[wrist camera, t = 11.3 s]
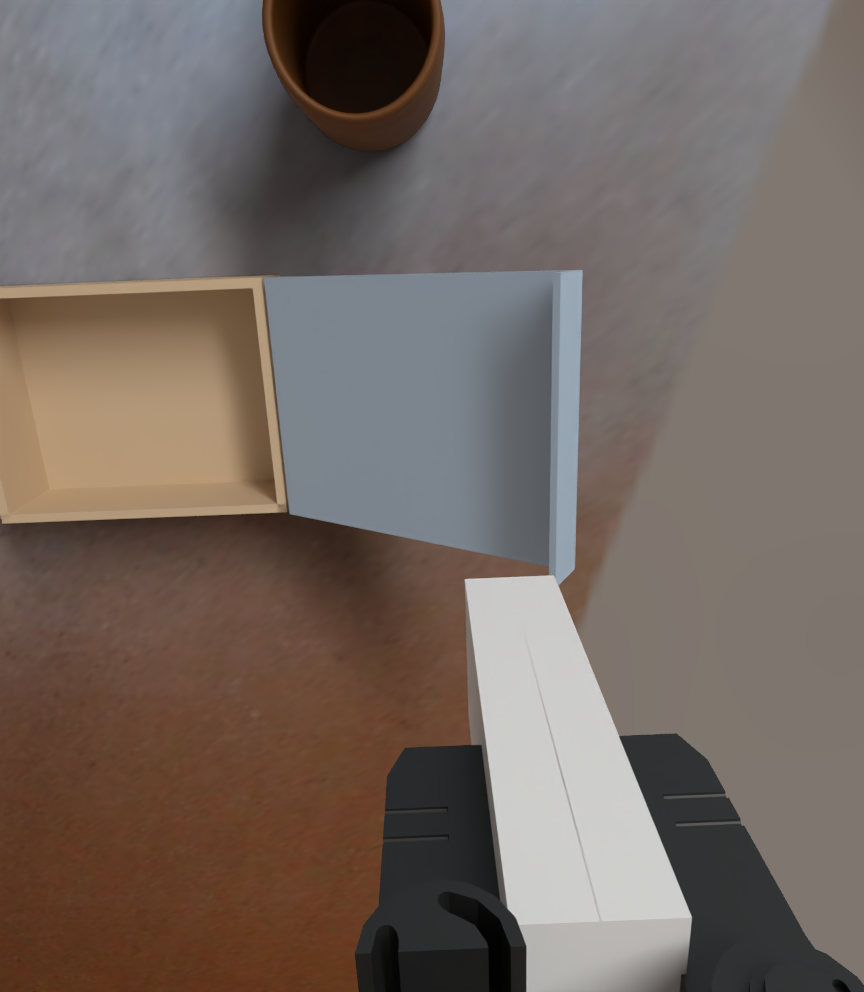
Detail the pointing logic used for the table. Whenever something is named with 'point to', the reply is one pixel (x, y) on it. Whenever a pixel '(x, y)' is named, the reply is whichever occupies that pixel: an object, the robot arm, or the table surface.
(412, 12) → the mug
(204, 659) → the table surface
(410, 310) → the lid
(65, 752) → the table surface
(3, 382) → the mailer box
